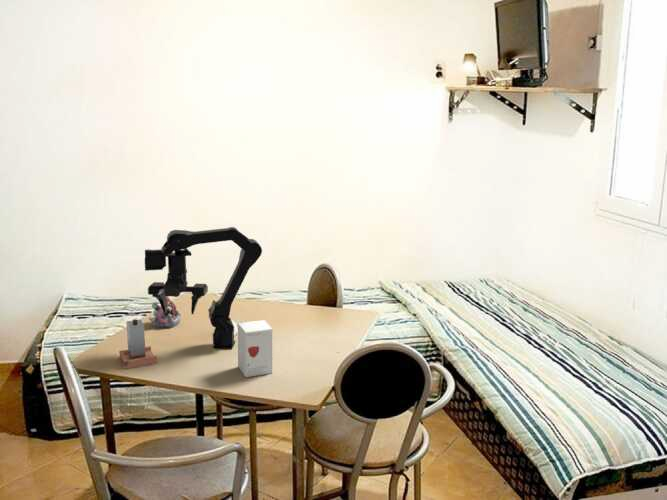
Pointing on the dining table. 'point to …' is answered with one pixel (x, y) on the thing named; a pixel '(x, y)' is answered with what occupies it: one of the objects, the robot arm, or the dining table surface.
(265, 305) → the dining table surface
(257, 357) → the supplement box
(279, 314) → the dining table surface
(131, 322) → the knobbed tall block
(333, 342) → the dining table surface
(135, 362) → the tray
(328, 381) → the dining table surface
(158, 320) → the brake caliper
